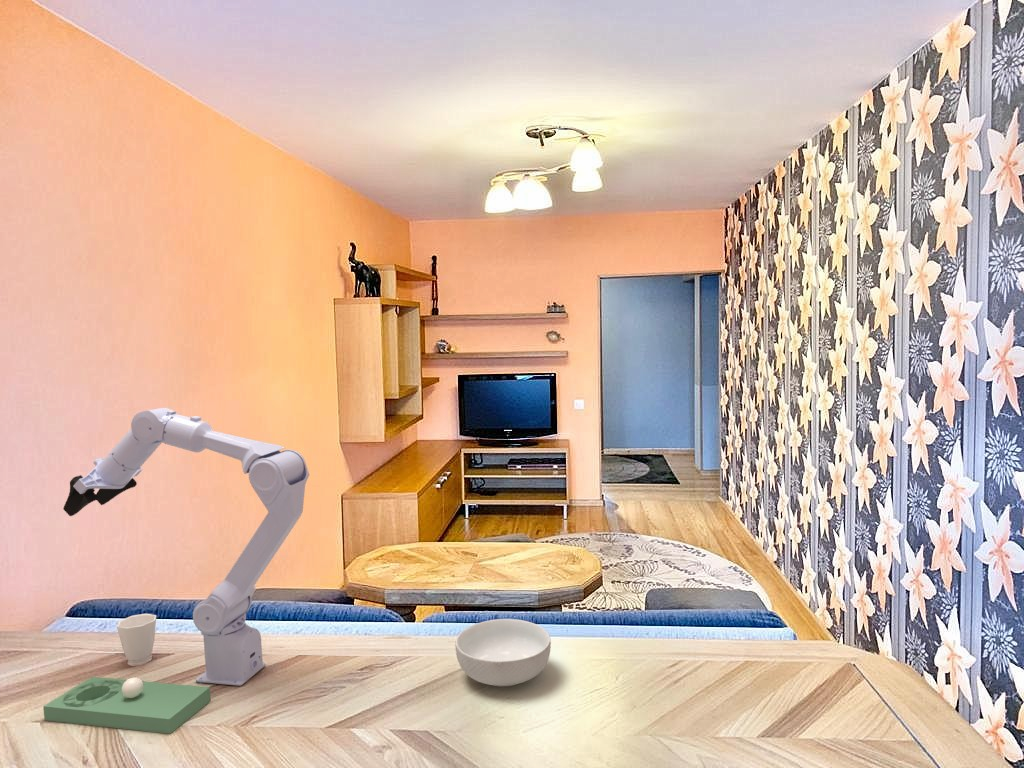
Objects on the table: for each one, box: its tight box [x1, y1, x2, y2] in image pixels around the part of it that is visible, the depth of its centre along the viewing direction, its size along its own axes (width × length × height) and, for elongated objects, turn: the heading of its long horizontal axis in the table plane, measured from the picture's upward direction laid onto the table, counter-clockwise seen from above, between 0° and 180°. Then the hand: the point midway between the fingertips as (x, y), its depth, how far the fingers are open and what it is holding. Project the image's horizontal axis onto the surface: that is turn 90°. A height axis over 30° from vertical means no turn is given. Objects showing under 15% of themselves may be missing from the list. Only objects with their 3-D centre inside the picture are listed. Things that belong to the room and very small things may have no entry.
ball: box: [122, 677, 143, 698], centre depth 117 cm, size 3×3×3 cm
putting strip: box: [43, 676, 212, 735], centre depth 118 cm, size 24×10×2 cm, turn 77°
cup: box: [116, 613, 157, 667], centre depth 137 cm, size 7×10×8 cm
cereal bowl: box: [454, 618, 552, 688], centre depth 125 cm, size 17×17×7 cm
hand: (83, 506), depth 132 cm, fingers open, 7 cm apart
